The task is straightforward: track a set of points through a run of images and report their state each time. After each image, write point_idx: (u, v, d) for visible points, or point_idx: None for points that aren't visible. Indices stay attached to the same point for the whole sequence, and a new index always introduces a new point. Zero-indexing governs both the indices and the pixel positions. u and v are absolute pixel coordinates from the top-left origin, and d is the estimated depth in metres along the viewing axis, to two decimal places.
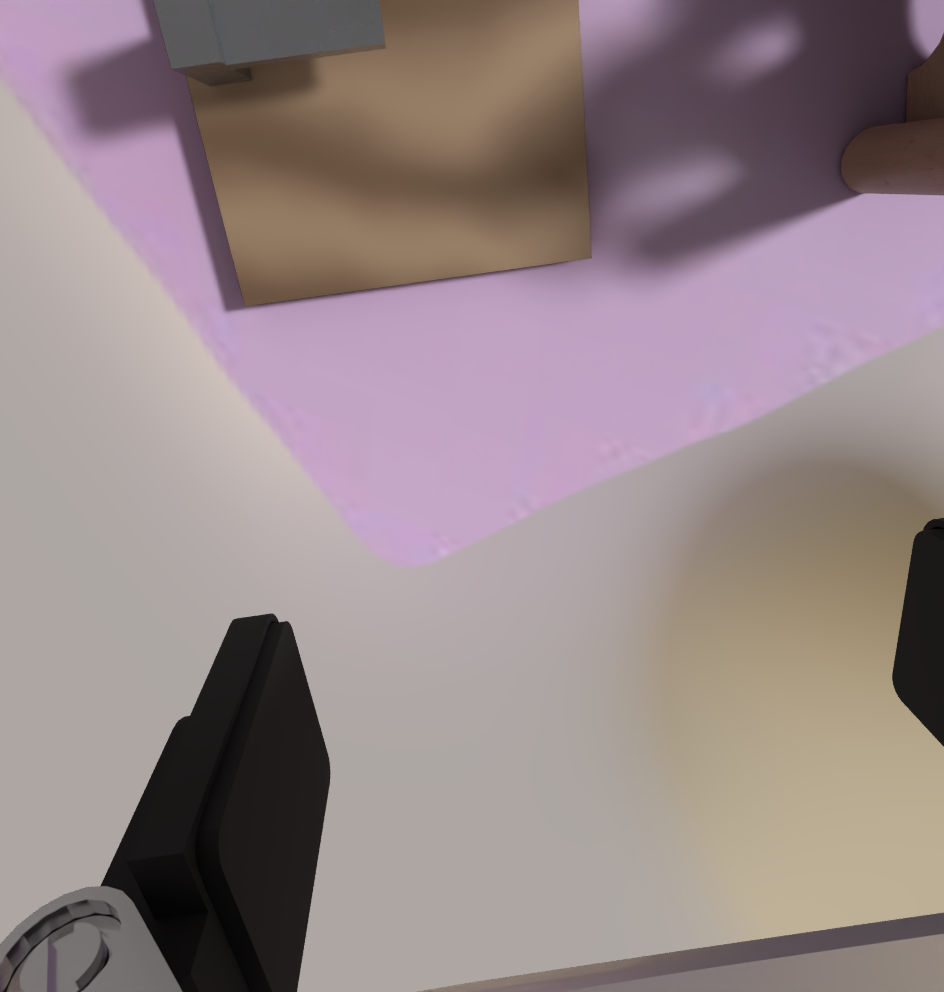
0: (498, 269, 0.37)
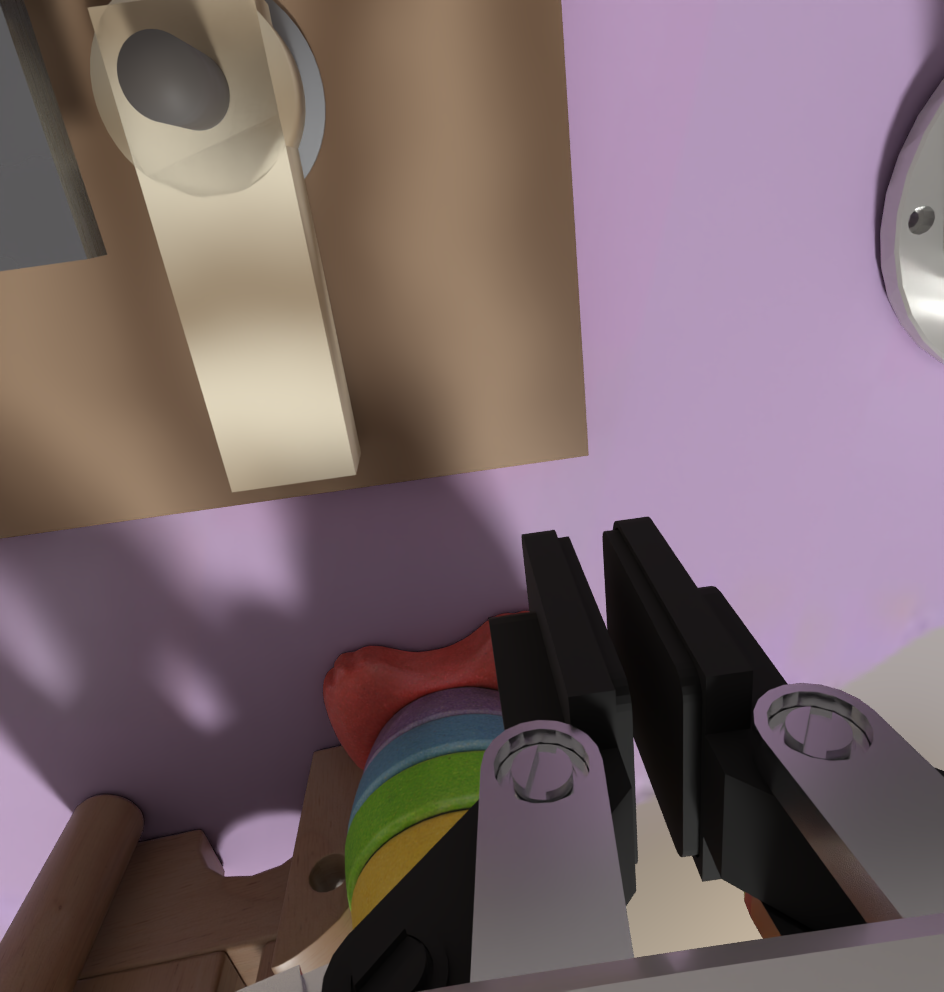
0: None
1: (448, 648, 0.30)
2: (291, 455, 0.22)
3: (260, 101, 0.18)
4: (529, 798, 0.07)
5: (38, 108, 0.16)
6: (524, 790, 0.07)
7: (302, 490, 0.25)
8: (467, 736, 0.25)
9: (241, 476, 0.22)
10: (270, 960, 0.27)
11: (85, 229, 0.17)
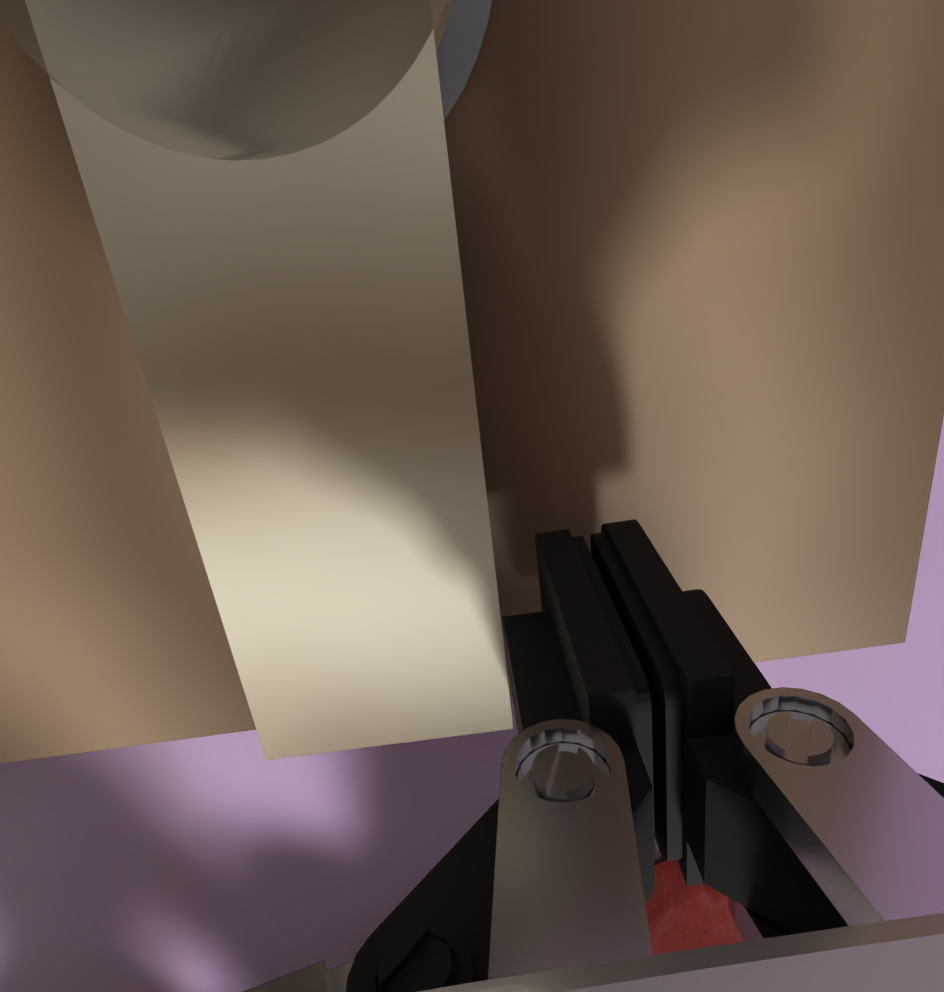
0: None
1: None
2: (389, 697, 0.11)
3: None
4: (549, 797, 0.07)
5: None
6: (544, 789, 0.07)
7: None
8: None
9: (286, 733, 0.11)
10: None
11: None
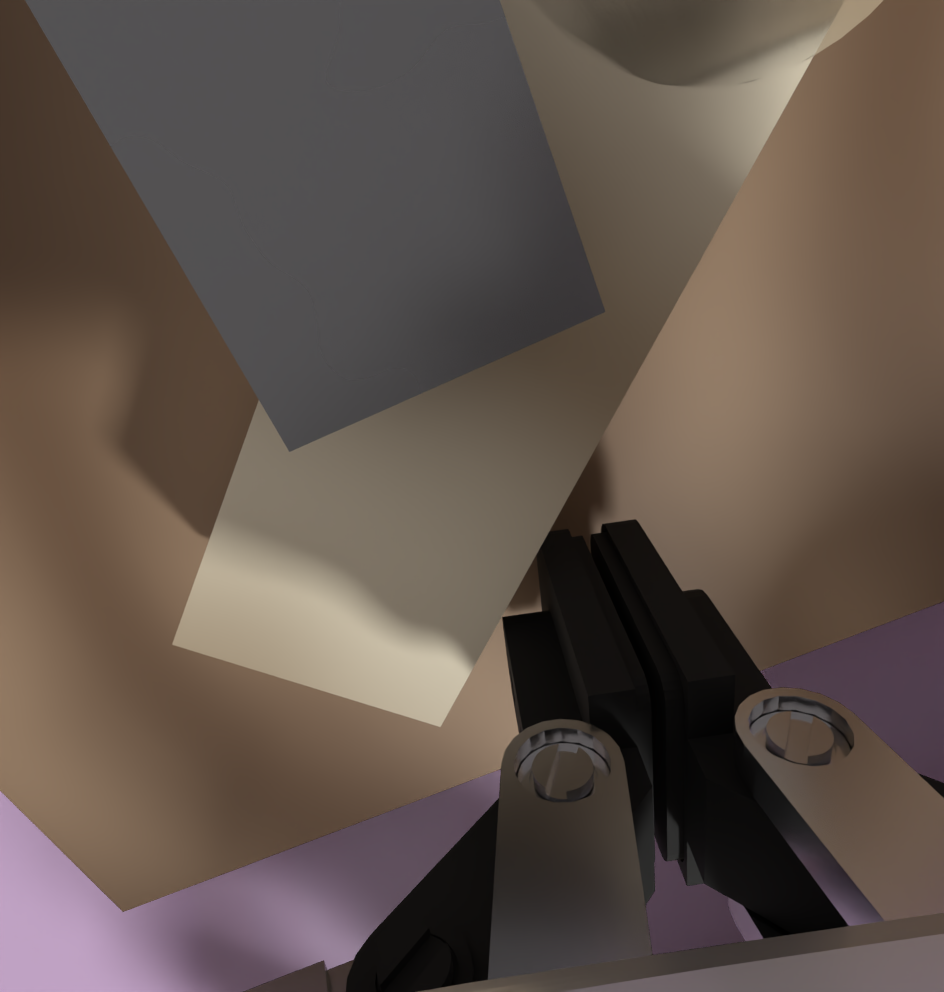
0: None
1: None
2: (346, 641, 0.10)
3: None
4: (549, 797, 0.07)
5: None
6: (544, 788, 0.07)
7: (813, 641, 0.13)
8: None
9: (214, 626, 0.09)
10: None
11: (568, 230, 0.06)
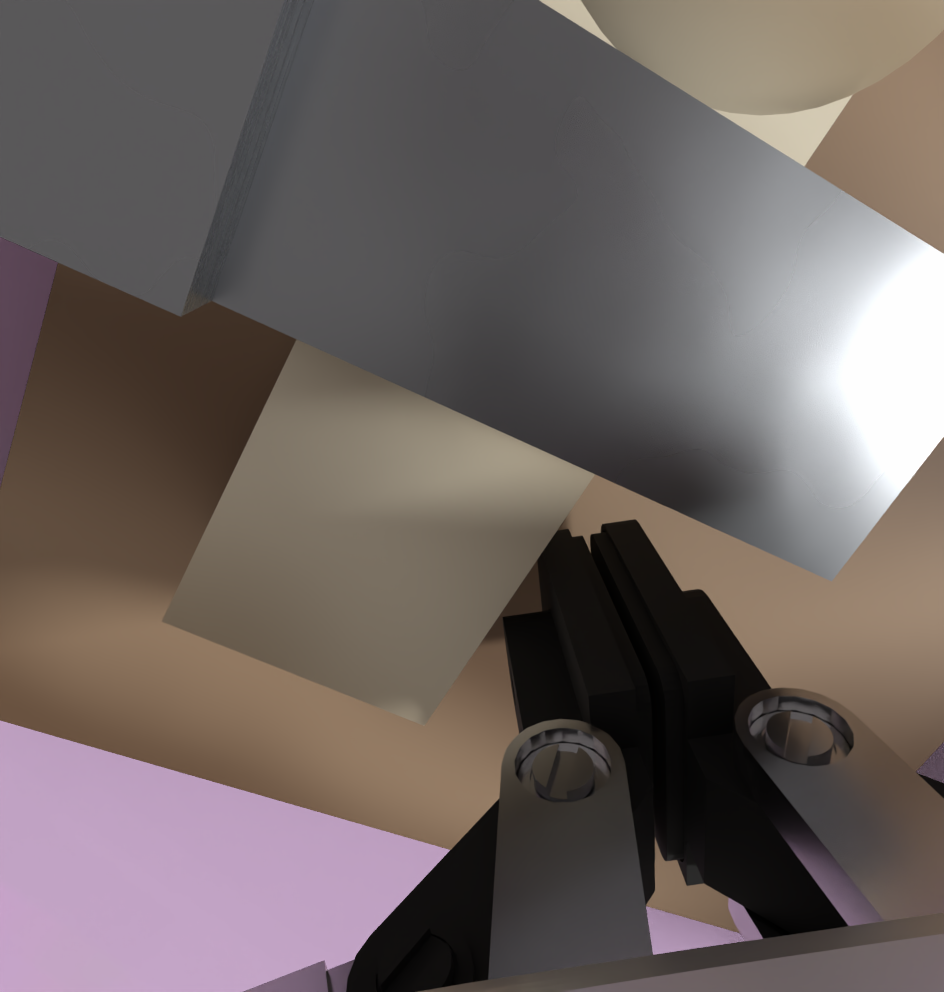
0: None
1: None
2: (339, 631, 0.10)
3: None
4: (550, 797, 0.07)
5: (731, 128, 0.06)
6: (545, 789, 0.07)
7: None
8: None
9: (206, 606, 0.09)
10: None
11: None
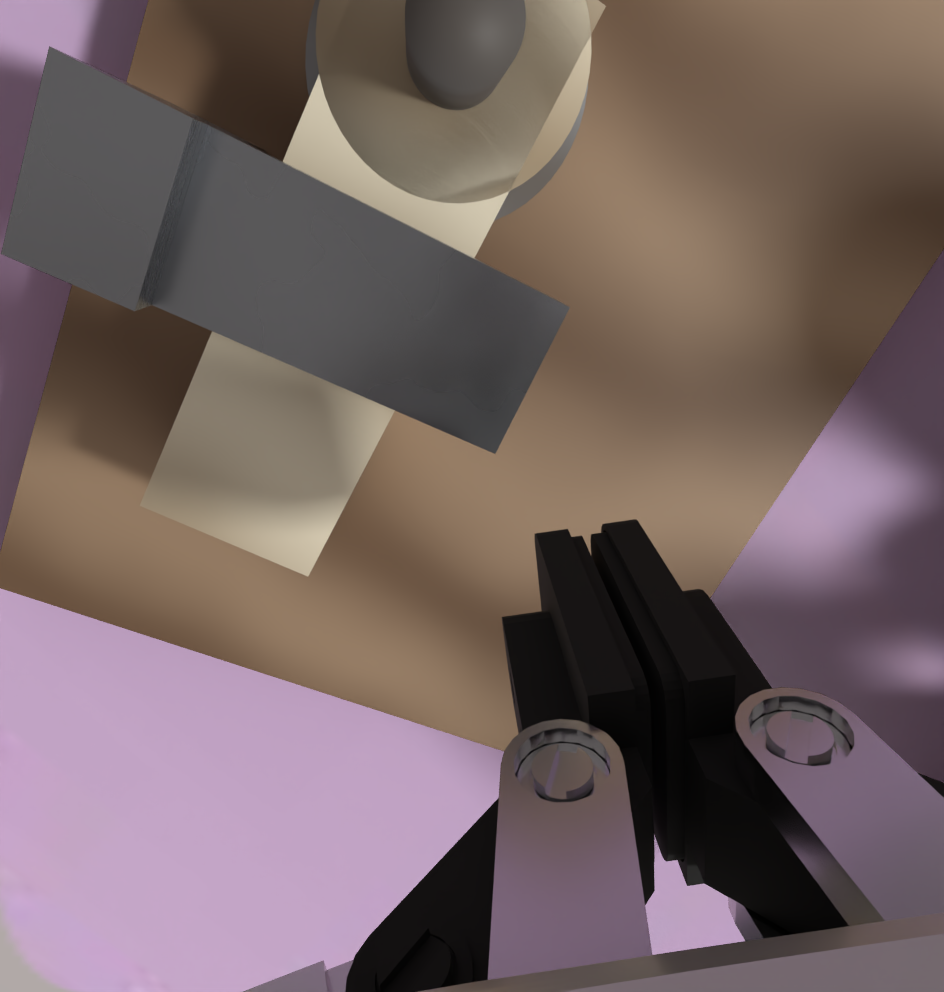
0: (452, 732, 0.22)
1: None
2: (249, 511, 0.16)
3: (519, 126, 0.13)
4: (549, 797, 0.07)
5: (398, 220, 0.12)
6: (544, 789, 0.07)
7: (873, 340, 0.18)
8: None
9: (166, 495, 0.15)
10: None
11: (532, 288, 0.13)
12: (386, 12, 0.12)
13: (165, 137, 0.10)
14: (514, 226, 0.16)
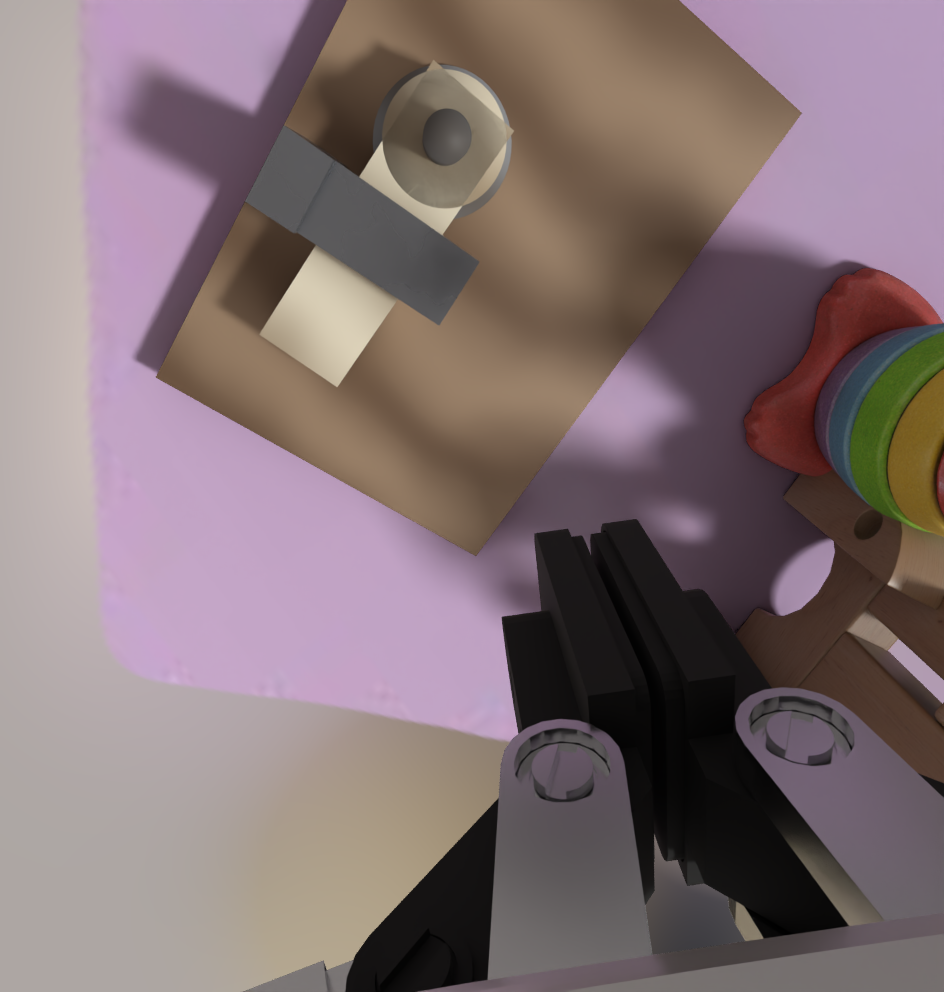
0: (399, 511, 0.37)
1: (808, 352, 0.36)
2: (313, 346, 0.31)
3: (470, 177, 0.28)
4: (549, 796, 0.07)
5: (409, 212, 0.27)
6: (544, 788, 0.07)
7: (650, 312, 0.34)
8: (877, 364, 0.31)
9: (273, 331, 0.30)
10: (881, 608, 0.34)
11: (465, 251, 0.28)
12: (416, 119, 0.27)
13: (321, 165, 0.25)
14: (466, 223, 0.31)
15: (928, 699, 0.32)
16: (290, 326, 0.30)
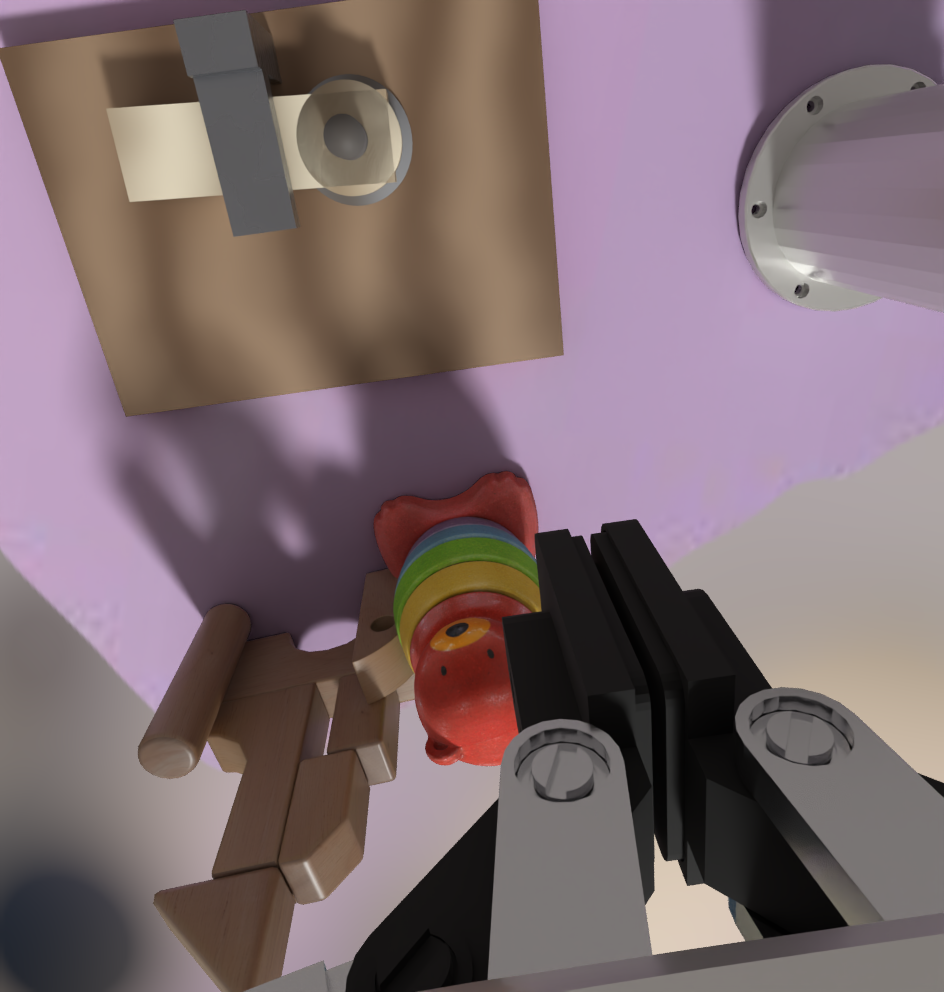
0: (97, 331, 0.39)
1: (455, 497, 0.45)
2: (138, 158, 0.33)
3: (345, 177, 0.34)
4: (549, 797, 0.07)
5: (280, 151, 0.32)
6: (544, 789, 0.07)
7: (387, 376, 0.41)
8: (468, 531, 0.40)
9: (119, 118, 0.32)
10: (345, 683, 0.42)
11: (294, 212, 0.33)
12: (343, 107, 0.33)
13: (246, 59, 0.29)
14: (325, 202, 0.37)
15: (313, 756, 0.40)
16: (135, 128, 0.33)
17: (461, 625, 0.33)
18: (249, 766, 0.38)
